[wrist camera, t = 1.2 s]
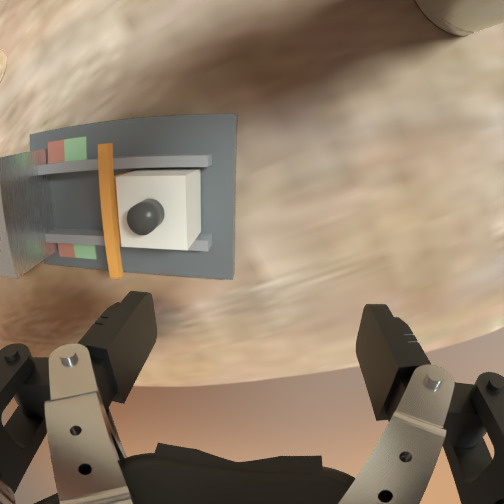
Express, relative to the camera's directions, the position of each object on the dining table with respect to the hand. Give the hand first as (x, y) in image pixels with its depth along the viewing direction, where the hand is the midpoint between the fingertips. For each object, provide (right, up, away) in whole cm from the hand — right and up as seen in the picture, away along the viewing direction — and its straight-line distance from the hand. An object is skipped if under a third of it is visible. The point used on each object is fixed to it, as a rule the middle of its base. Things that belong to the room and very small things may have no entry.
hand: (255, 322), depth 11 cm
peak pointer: (-12, +7, +18) cm, 23 cm away
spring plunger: (-8, +7, +18) cm, 21 cm away
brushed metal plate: (-24, +8, +19) cm, 32 cm away
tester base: (-14, +8, +20) cm, 25 cm away
